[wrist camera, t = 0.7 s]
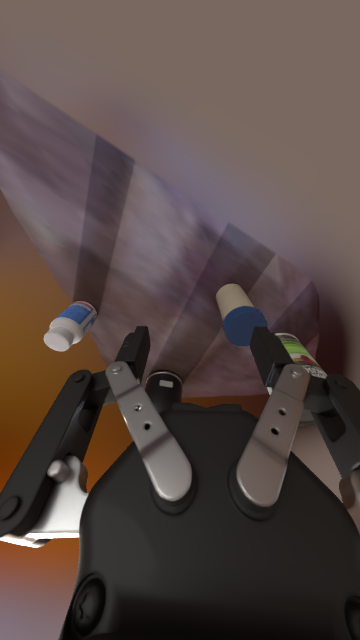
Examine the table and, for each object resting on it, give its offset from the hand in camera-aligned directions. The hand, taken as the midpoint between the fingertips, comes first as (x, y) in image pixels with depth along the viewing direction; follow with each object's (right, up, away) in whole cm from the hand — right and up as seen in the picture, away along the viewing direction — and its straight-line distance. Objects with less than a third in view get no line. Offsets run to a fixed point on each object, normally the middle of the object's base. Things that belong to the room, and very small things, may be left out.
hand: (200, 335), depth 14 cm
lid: (+8, 0, +12) cm, 14 cm away
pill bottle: (-21, +3, +24) cm, 32 cm away
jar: (+8, +6, +21) cm, 23 cm away
